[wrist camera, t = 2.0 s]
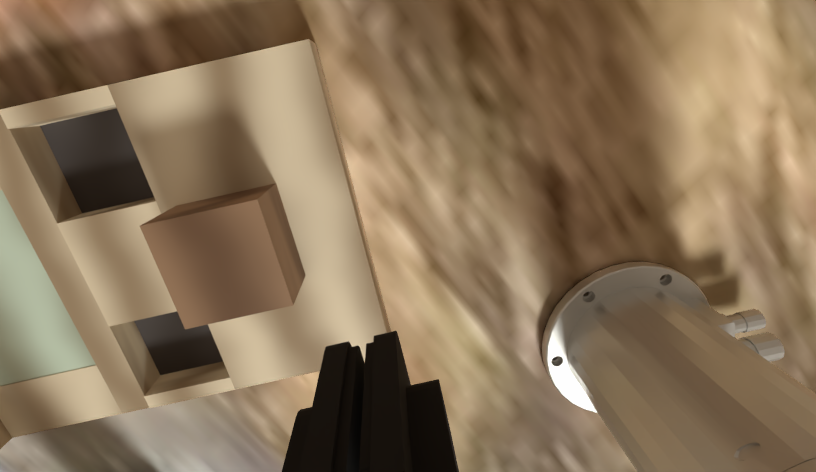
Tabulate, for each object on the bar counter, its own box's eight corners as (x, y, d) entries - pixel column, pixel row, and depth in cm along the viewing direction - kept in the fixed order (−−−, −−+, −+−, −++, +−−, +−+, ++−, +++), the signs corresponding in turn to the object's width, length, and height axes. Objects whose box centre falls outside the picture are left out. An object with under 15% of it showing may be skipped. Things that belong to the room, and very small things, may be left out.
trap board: (316, 44, 25) (299, 31, 20) (391, 334, 31) (393, 382, 26) (-145, 149, 25) (-280, 164, 20) (24, 415, 32) (-46, 478, 27)
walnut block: (276, 183, 25) (257, 199, 21) (305, 275, 27) (293, 305, 23) (176, 205, 25) (139, 226, 21) (212, 296, 27) (185, 329, 23)
